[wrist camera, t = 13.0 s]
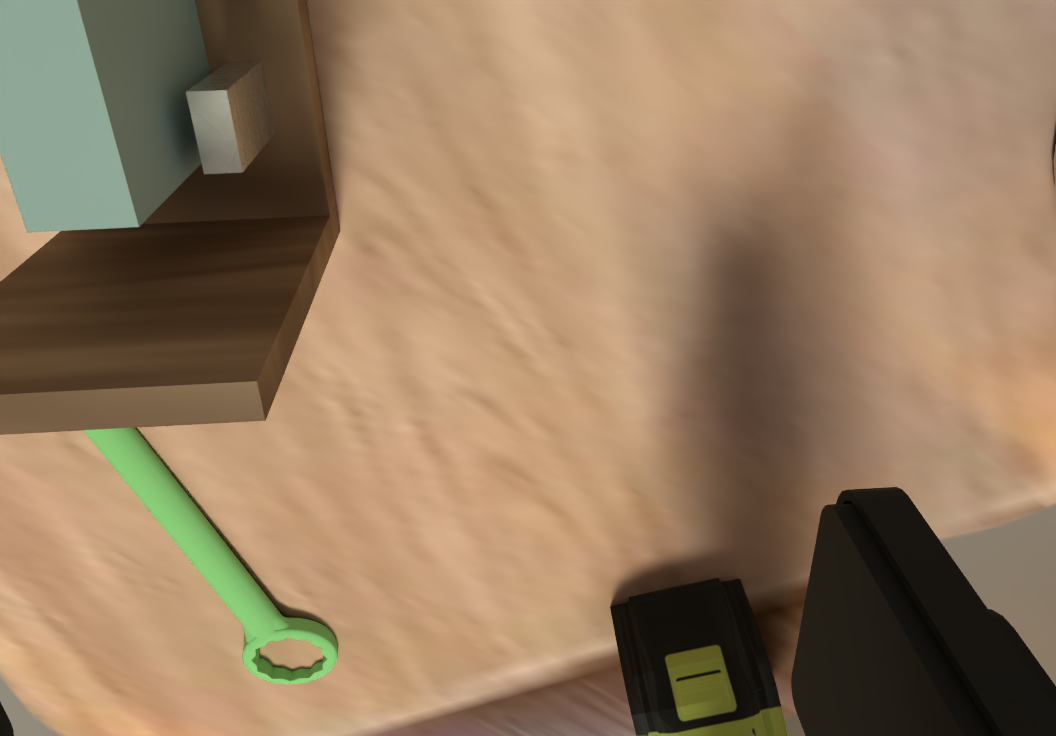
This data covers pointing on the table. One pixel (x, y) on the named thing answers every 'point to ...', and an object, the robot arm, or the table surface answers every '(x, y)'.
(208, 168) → the cabinet base
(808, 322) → the table surface
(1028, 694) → the robot arm
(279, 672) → the wrench
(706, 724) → the cordless drill
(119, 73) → the pale teal rectangular block
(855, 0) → the table surface
